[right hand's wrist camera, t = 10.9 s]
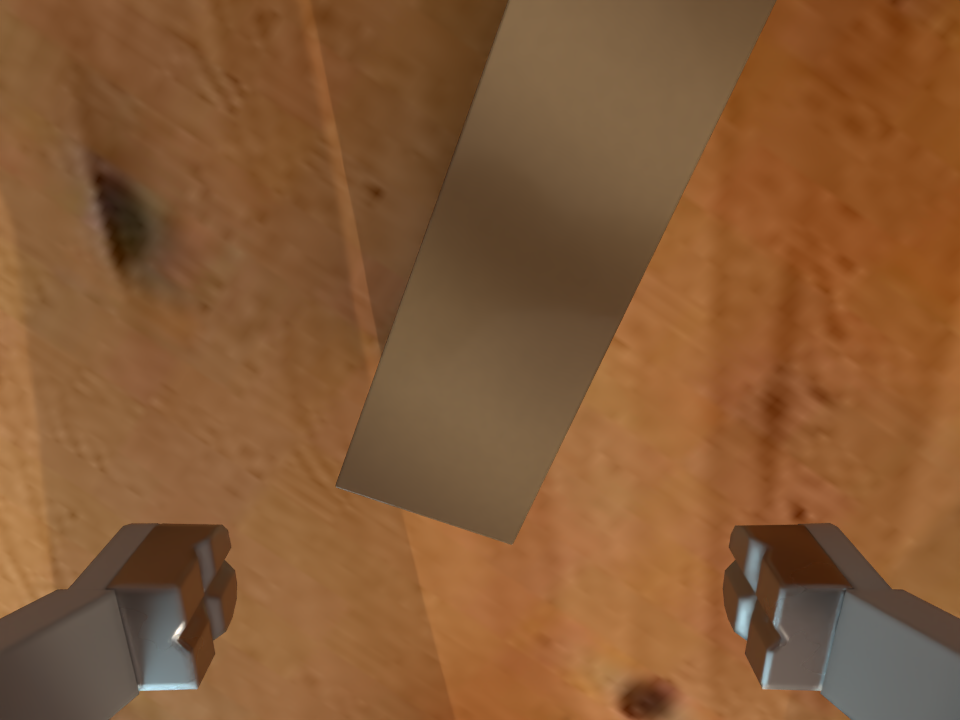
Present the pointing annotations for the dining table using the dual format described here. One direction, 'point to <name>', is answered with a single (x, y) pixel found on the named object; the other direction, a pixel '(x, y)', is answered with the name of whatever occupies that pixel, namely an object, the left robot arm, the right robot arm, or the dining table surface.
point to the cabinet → (540, 246)
